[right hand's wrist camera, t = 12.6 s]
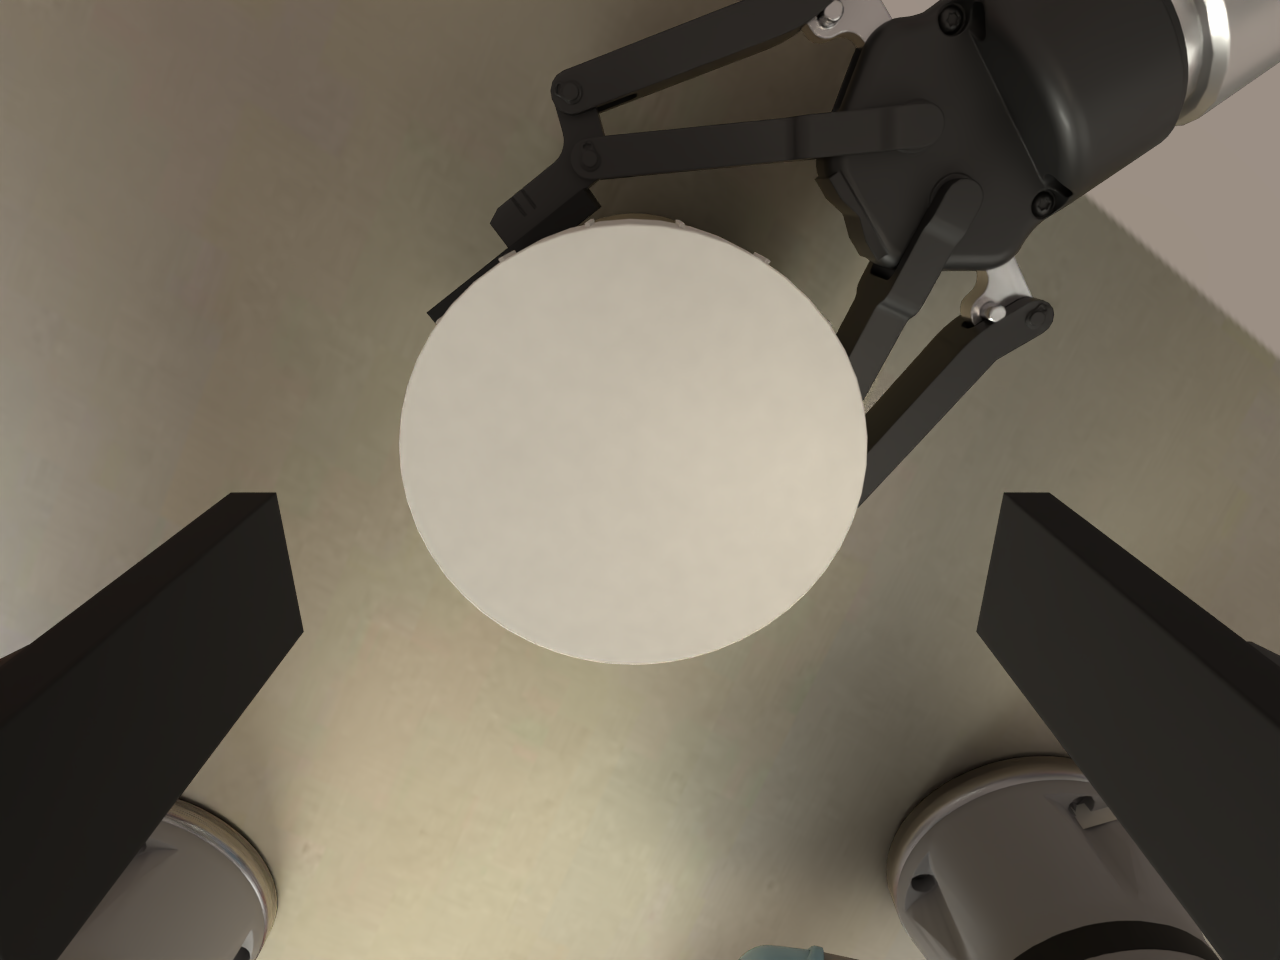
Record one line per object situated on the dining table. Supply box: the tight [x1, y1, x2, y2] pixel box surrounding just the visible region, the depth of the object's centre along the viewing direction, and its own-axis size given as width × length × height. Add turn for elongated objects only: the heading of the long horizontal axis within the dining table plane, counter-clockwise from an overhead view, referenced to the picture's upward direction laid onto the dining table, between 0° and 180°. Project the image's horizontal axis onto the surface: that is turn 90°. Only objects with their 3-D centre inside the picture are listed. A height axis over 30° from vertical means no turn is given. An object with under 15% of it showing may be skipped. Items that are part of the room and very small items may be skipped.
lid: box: [399, 219, 867, 665], centre depth 18 cm, size 11×11×2 cm
